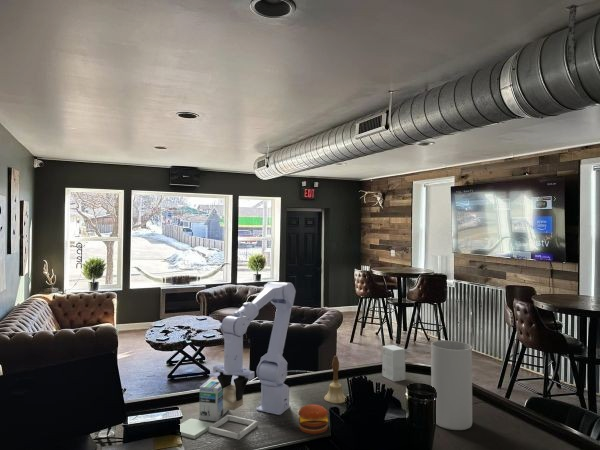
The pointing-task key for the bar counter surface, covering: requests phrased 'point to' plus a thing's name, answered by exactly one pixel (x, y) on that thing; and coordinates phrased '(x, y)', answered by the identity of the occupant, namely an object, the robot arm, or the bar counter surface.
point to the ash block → (231, 398)
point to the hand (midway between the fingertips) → (233, 398)
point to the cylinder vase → (452, 383)
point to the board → (194, 428)
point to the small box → (393, 362)
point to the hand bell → (335, 386)
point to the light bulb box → (211, 400)
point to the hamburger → (313, 419)
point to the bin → (230, 434)
